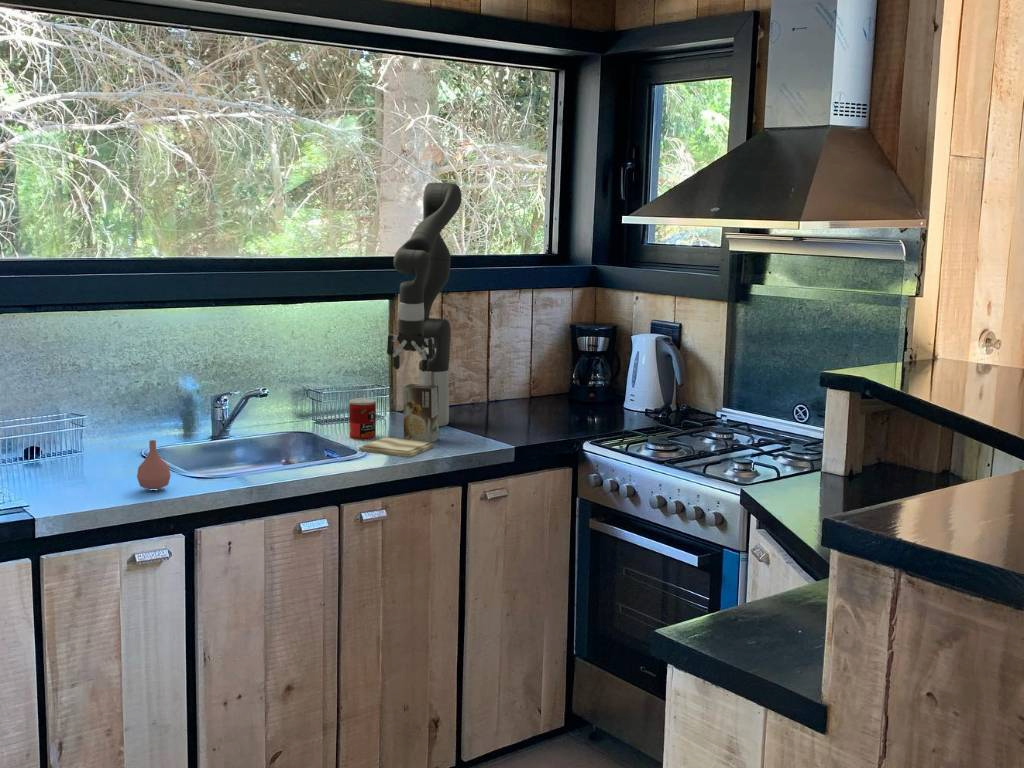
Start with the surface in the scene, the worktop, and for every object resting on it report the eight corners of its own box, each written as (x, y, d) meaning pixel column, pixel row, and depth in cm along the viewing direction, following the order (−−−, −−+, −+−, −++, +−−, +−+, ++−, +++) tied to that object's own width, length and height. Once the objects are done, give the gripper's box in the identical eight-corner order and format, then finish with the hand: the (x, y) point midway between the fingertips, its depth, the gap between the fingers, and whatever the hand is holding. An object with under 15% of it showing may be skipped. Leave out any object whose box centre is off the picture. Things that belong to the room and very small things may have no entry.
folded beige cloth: (385, 441, 325) (385, 436, 324) (433, 447, 318) (433, 442, 318) (359, 450, 312) (359, 445, 312) (409, 457, 305) (409, 451, 305)
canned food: (363, 441, 325) (362, 403, 323) (343, 437, 329) (343, 400, 328) (381, 436, 331) (381, 400, 329) (362, 433, 335) (361, 397, 334)
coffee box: (439, 439, 329) (440, 385, 327) (431, 443, 323) (432, 388, 321) (410, 436, 332) (410, 383, 329) (402, 440, 326) (402, 386, 323)
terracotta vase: (159, 484, 273) (158, 436, 271) (177, 489, 268) (176, 440, 266) (131, 490, 267) (129, 441, 265) (148, 496, 262) (146, 445, 260)
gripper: (438, 316, 332) (437, 369, 336) (392, 312, 335) (392, 364, 339) (430, 321, 325) (429, 375, 329) (384, 317, 328) (383, 370, 332)
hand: (410, 370), depth 334 cm, fingers open, 8 cm apart
